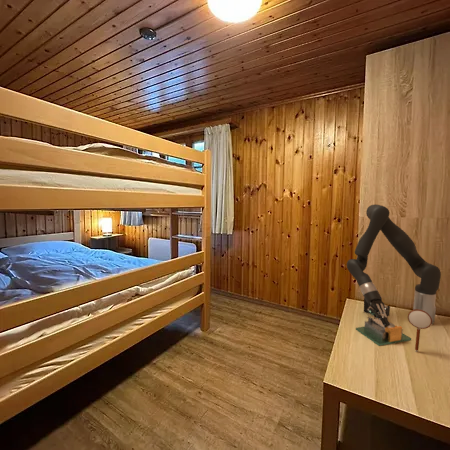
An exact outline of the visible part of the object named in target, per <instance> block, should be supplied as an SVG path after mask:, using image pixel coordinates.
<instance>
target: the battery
mask: <svg viewBox="0 0 450 450" xmlns="http://www.w3.org/2000/svg"><path fill="white" fill-rule="evenodd" d="M368 308H369V304H368V303H367V302H366V300H365V298H364V297H363V312H364V313H367V314H370V313H369V312H368V311H367V309H368ZM375 315H376V314H375Z"/></svg>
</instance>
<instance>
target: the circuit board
mask: <svg viewBox="0 0 450 450" xmlns="http://www.w3.org/2000/svg"><path fill="white" fill-rule="evenodd" d="M367 319H368V320H366V321H364V326H359V327H358V326H357V327H355V330H356V331H357V332H358V333H360V334H361V335H363V336H364V337H365V338H367V339H369V341H371V342H373V343H374V344H375V345H377V346H379V347H382V346H386V345H388V346H389V345H392V344H399V343H403V342H409V341H412V338H411V337H410V336H408V335H406V334H405V333H403V330H404V329H403V327H402V326H401V325H400V326H399V325H395V324H394V323H392V322H390V321H389V323H390V326H391V327H392V328H388V327H385V329H384V328H383V327H381V326H380V325H378V324H377V323H375V322H374V321H373V318H372V317H369V316H368V318H367Z"/></svg>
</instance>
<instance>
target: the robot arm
mask: <svg viewBox="0 0 450 450" xmlns="http://www.w3.org/2000/svg"><path fill="white" fill-rule="evenodd" d="M365 214H366V217H367V218H368V219H369V223H368V226H367V228H366V230H365V232H364V233H363V234H362V236H361V237H360V238H359V240H358V243H357V244H356V247H355V249H354V254H355V255H356V256H357V257H356V258H355V259H354V258H351V259H348V260H347V262H346V269H347V270H348V272H349V273H350V275H351V276H352V277H353V278H354V279H355V281H356V283H357V285H358V287H359V289H360V292H361V294H362V296H363V299H364V298H365V300H366V302H367V303H368V304H369V308H368V309H367V311H368V312H369V313H368V314H370V315H372V317H374V319H378V318H379V319H380V320H381V322H382V324H383V325H384V326H385V327H387V326H390V323H391V322H390V321H389V319H388V317H389V316H390V314H391V313H390V312H391V306H390V305H386V304H385V302H383V300H382V299H383V298H382V296H381V294H380V292H379V290H378V289H377V286H376V284H374V282H373V280H372V279H371V277H370V275H369V274H368V273H366V272H364V271H365V270H366V268H367V266H368V259H369V254H370V252H371V249H372V247H373V245H374V242H375V240H376V238H377V236H379V233H380V231H381V232H382V234H383V236H384V237H385V238H386V239H387V241H388V242H389V243H390V245H391V246H392V247H393V248H394V250H395V251H397V253H398V254H399V255H400V256H401V257H402V258H403V260H405V261H406V263H407V265H409V267H410V269H411V270H412V271H413V273H414V274H415V275H416V277H419V278H420V283H419V284H415V287H414V294H413V295H414V299H413V308H412V310H415V309H419V310H423V311H425V312H427V313H428V314H429V315H430V317H431V319H432V324H431V326H433V324H434V323H435V320H436V318H435V317H436V309H437V307H436V298H437V292H438V291H439V288H440V283H441V282H440V281H441V275H442V274H441V269H440V268H439V267H438V266H436V265H435V264H432V263H429V262H428V261H426V260H425V258H423V257H422V256H421V255H420V254H419V252H418V250H417V246H416V244H415V241H413V239H412V238H411V237H410V236H409V235H408V234H407V233H406V231H404V229H402V228H401V227H399V226H398V225H397V224H396V223H395V222H393V221H392V219H390V210H389V208H387V207H386V206H384V205H381V204H371V205H369V206H368V207H367V208H366V212H365ZM375 314H376V315H375ZM389 322H390V323H389Z"/></svg>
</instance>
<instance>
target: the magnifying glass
mask: <svg viewBox="0 0 450 450" xmlns="http://www.w3.org/2000/svg"><path fill="white" fill-rule="evenodd" d="M407 321H408V322H409V324H410V325H412V326H413V327H414V328H416V337H415V347H414V350H415V352H418V351H419V347H420V346H419V345H420V337H421V329H422V330H426V329H428V328H430V327H431V326H432V325H433V324H432V319H431V317H430V315H429V314H428V313H427V312H425V311H423V310H419V309H415V310H413V309H412V310H410V311H409V312H408V314H407ZM431 324H432V325H431Z"/></svg>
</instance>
